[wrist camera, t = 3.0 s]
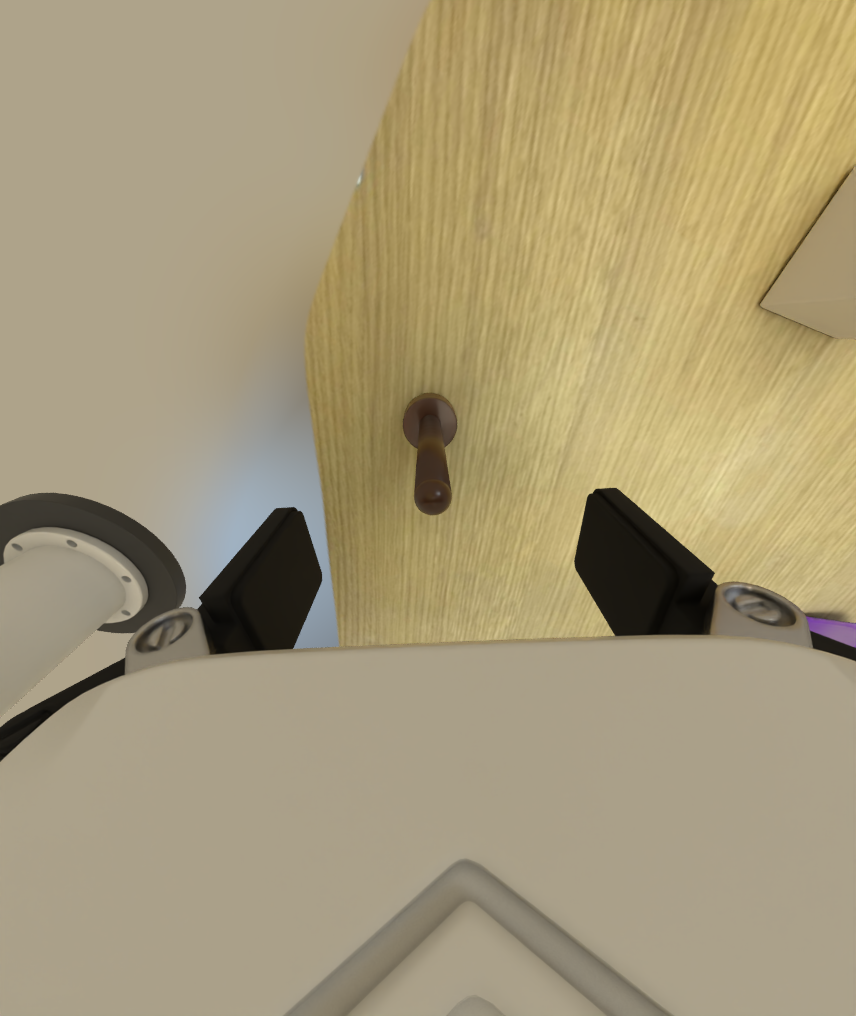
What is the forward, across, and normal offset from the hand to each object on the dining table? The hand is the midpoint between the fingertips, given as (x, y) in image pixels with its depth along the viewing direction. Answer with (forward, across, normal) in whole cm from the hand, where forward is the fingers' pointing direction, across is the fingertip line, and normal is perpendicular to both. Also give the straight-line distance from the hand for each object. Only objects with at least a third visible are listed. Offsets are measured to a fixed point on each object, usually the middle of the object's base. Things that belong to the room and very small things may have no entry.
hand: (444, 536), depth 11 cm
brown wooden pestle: (+16, +1, 0) cm, 16 cm away
